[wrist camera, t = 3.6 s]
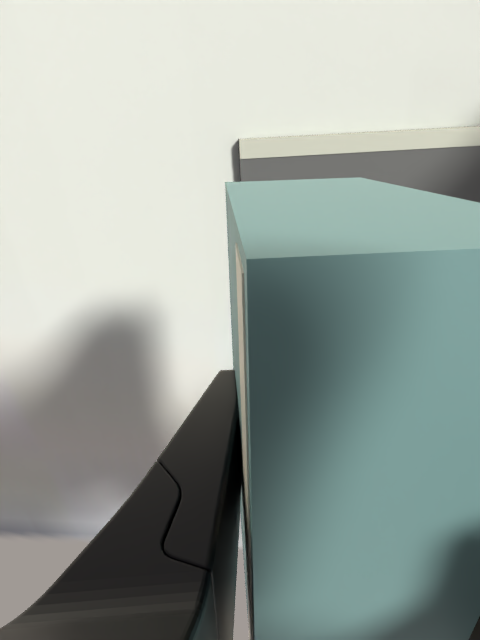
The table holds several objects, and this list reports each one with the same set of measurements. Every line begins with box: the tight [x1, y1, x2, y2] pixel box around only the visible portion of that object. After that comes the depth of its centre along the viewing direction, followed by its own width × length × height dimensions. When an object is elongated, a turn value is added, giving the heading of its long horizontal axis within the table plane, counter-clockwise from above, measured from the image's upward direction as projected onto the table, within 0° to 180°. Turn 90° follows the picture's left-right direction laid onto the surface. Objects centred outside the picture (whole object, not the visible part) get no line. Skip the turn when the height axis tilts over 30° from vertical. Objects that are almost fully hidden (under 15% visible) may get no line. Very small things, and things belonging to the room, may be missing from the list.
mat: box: [238, 126, 480, 203], centre depth 20 cm, size 14×15×1 cm
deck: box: [225, 177, 480, 640], centre depth 7 cm, size 3×9×6 cm, turn 2°
